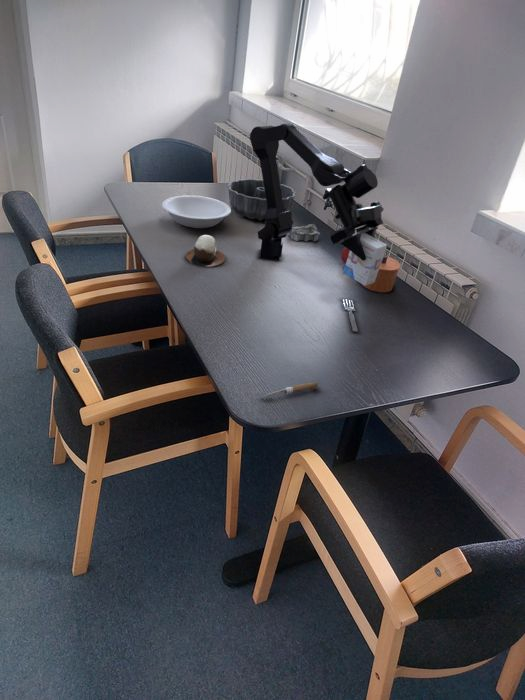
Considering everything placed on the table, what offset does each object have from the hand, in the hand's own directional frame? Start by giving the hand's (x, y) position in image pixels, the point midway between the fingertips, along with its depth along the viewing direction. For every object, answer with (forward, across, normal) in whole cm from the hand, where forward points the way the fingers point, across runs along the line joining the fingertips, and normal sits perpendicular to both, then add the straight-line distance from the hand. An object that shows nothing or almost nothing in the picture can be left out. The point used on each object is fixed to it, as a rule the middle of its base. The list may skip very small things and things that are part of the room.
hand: (369, 257), depth 134 cm
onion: (-1, +16, +19) cm, 25 cm away
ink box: (+4, 0, +6) cm, 7 cm away
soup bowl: (-38, -3, +58) cm, 69 cm away
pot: (+8, +12, +10) cm, 17 cm away
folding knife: (+19, -51, -2) cm, 55 cm away
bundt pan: (-36, +27, +55) cm, 71 cm away
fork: (+12, -12, +6) cm, 18 cm away
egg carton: (-18, +22, +36) cm, 46 cm away
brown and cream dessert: (-22, -20, +41) cm, 50 cm away
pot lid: (+3, +12, +5) cm, 13 cm away
